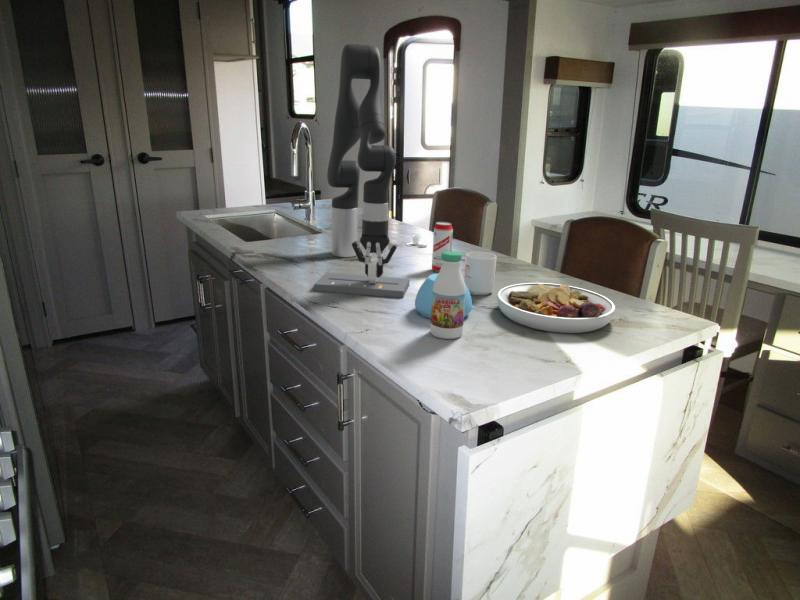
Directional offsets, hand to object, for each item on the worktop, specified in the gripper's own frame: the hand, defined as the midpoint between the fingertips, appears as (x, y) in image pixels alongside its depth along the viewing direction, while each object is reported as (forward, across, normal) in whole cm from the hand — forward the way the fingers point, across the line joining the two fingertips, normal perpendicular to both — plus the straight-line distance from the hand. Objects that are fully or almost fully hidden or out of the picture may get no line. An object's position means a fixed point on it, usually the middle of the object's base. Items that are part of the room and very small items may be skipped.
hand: (373, 276), depth 168 cm
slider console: (+4, +3, 0) cm, 5 cm away
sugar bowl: (+4, -22, +16) cm, 27 cm away
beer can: (+4, -18, -26) cm, 32 cm away
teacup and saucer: (+5, -4, -59) cm, 59 cm away
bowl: (+4, -51, +11) cm, 52 cm away
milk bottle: (+4, -24, +31) cm, 39 cm away
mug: (+4, -30, -7) cm, 31 cm away
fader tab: (+1, 0, 0) cm, 1 cm away
